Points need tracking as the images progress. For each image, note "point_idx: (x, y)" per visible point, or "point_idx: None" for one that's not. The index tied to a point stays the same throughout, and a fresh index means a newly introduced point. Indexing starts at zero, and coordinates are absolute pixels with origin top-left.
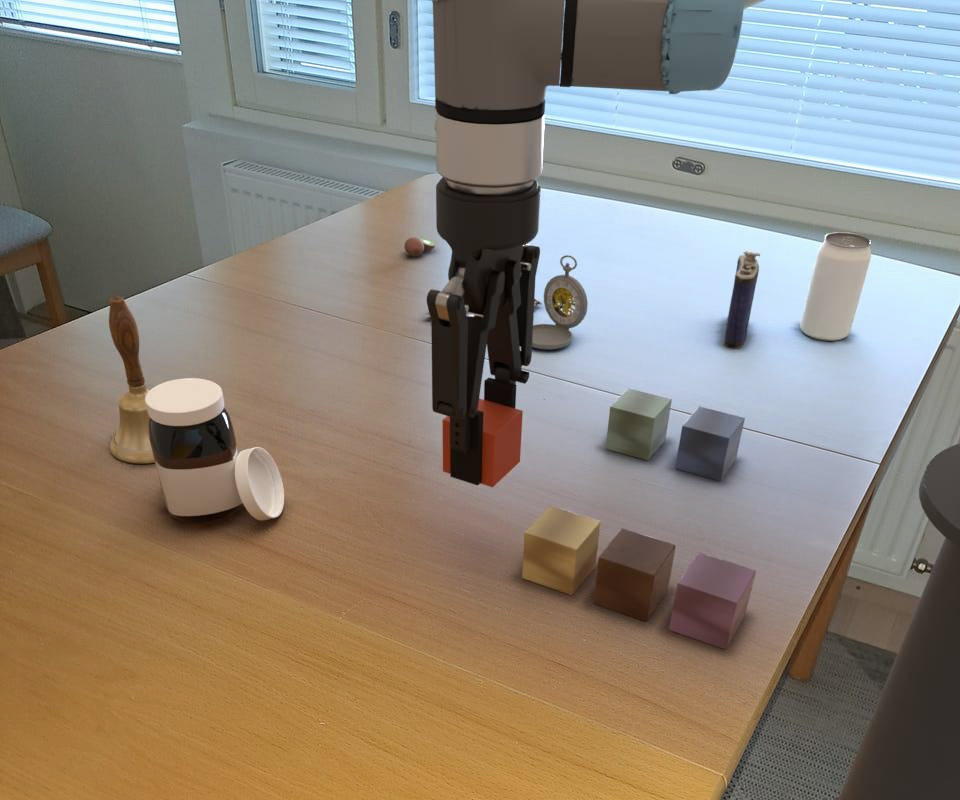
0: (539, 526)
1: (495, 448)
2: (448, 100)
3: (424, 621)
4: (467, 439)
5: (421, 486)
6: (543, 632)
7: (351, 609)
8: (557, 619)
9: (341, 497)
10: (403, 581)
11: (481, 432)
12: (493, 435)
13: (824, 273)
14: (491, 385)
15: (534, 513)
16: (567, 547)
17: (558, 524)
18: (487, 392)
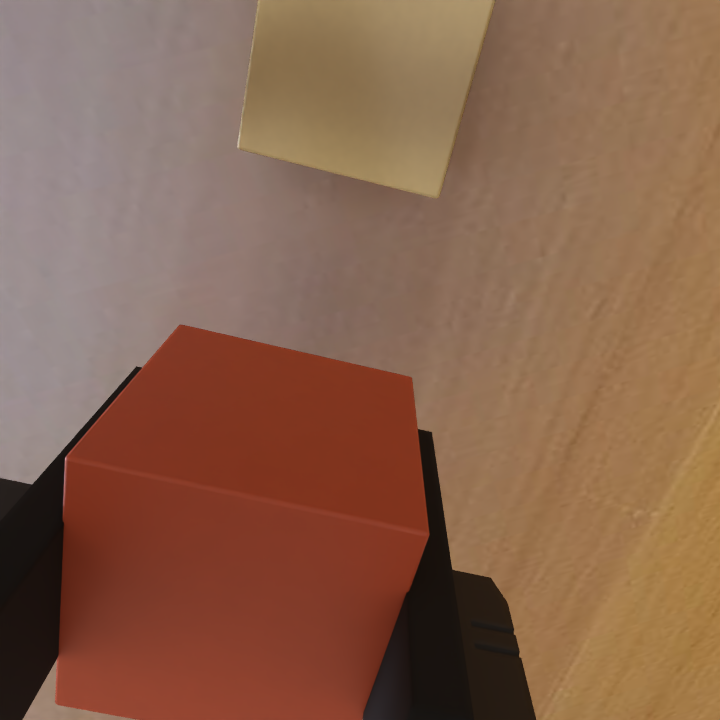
0: (389, 153)
1: (411, 473)
2: None
3: (646, 358)
4: (489, 630)
5: None
6: (657, 45)
7: (623, 504)
8: (592, 16)
9: None
10: (504, 441)
11: (425, 598)
12: (425, 536)
13: None
14: (2, 718)
15: (106, 216)
16: (491, 9)
17: (353, 83)
18: (33, 686)
